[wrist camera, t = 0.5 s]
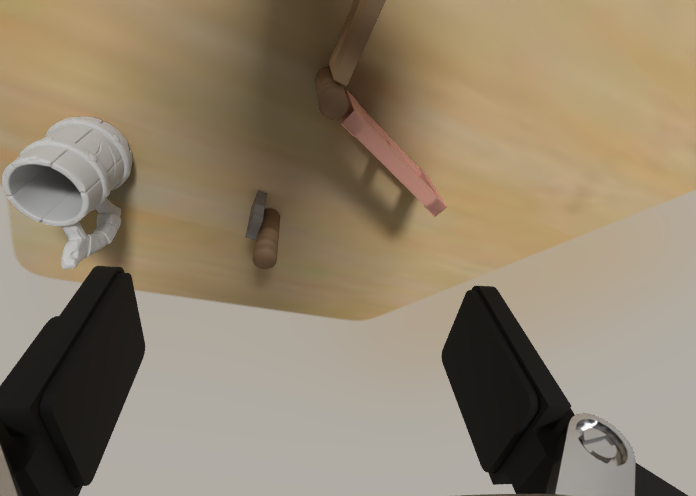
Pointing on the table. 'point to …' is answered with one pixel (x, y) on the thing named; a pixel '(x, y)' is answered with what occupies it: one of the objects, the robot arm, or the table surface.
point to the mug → (72, 182)
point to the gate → (391, 155)
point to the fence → (331, 106)
